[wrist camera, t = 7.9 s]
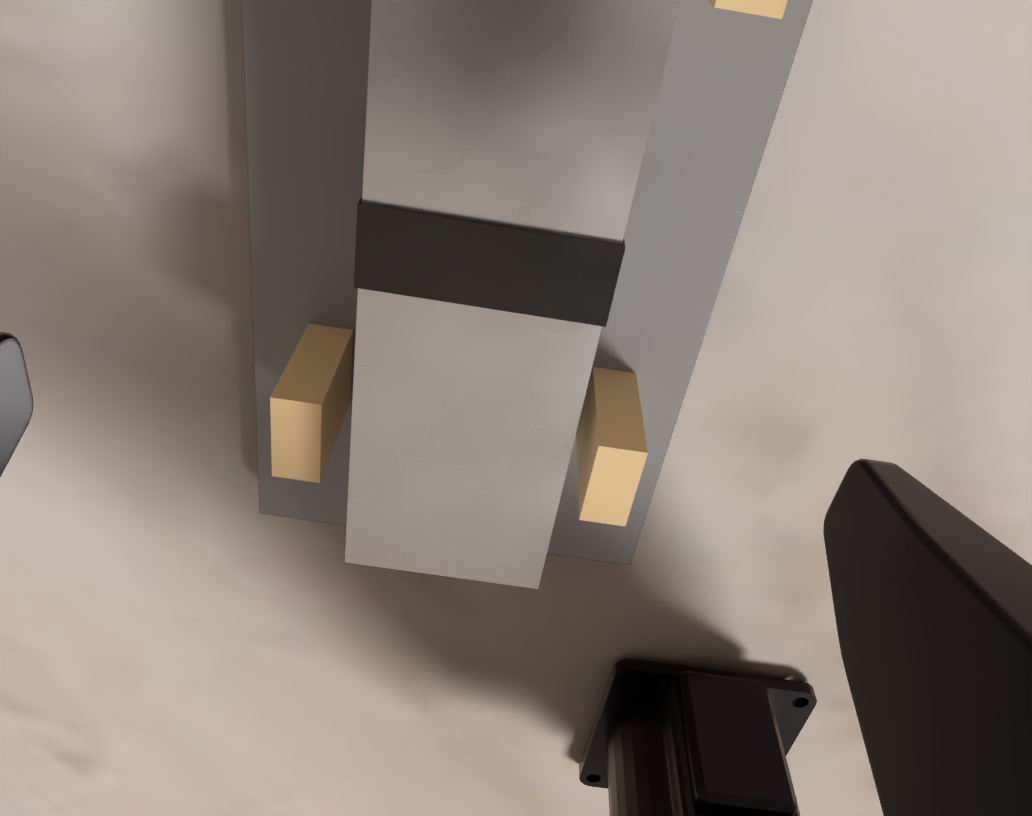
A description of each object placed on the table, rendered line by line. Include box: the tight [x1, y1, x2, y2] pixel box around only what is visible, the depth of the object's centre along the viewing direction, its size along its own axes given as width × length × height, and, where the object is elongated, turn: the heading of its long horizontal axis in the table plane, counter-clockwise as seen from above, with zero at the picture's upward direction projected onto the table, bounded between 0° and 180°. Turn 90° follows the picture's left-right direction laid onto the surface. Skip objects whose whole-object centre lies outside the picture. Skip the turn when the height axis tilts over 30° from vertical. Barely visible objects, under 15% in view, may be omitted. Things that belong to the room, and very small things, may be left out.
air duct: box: [345, 0, 681, 589], centre depth 14 cm, size 14×4×4 cm, turn 171°
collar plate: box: [242, 0, 813, 565], centre depth 16 cm, size 20×10×4 cm, turn 171°
